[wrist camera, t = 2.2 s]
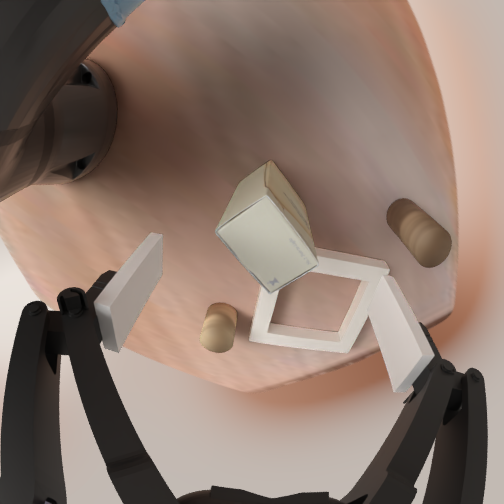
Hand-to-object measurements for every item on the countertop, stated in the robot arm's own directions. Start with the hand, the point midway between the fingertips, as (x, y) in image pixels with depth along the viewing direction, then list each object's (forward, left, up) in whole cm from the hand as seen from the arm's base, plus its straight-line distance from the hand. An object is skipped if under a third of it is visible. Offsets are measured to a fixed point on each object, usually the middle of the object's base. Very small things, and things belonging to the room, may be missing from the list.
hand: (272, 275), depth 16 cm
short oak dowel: (-3, -17, -15) cm, 23 cm away
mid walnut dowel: (+15, +1, -15) cm, 21 cm away
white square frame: (+8, -12, -15) cm, 20 cm away
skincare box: (0, 0, -15) cm, 15 cm away
